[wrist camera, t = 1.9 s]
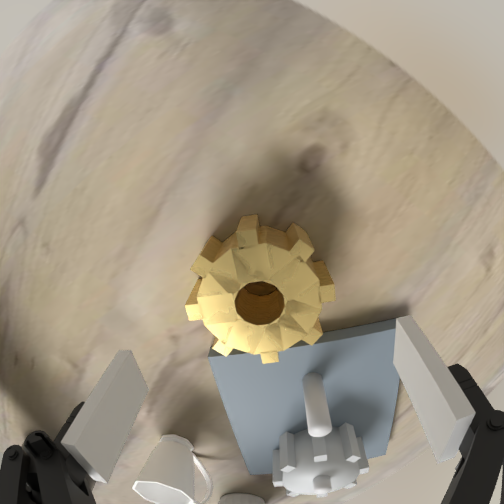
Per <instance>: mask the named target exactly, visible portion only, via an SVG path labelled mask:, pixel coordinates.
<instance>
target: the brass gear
mask: <svg viewBox="0 0 504 504" xmlns="http://www.w3.org/2000/svg"><path fill="white" fill-rule="evenodd" d="M313 252H314V248H313V245H312V243H311V241H310V239H309V237H308V235H307V233H306V231H305V230H303V229H302V228H300V227H299V226H298V225H296V224H295V223H294V222H293V223H292V224H291V226H290V227H289V228H288V230H287V231H286V232H283V231H280V230H277V229H274V228H272V227H269V226H260V225H259V219H258V214H255V215H249V216H243V217H241V219H240V222H239V225H238V228H237V230H236V232H235V233H233V234H232V235H231V236H230V237H229V238H227V239H226V240H225V241H224V242H221V241H219V240H218V239H216V238H215V237H213V236H211V237H210V239H209V240H208V242H207V243H206V245H205V246H204V248H203V249H202V251H201V252H200V254H199V256H198V257H197V259H196V261H195V262H194V264H193V266H192V267H191V270H192V271H194V272H195V273H197V274H198V275H200V276H201V277H203V278H202V279H198V280H197V282H196V284H195V286H194V288H193V290H192V292H191V294H190V296H189V298H188V300H187V302H186V304H185V307H186V311H187V314H188V317H189V321H191V320H201V319H203V322H204V325H205V326H206V327H207V328H208V329H209V330H210V331H211V332H212V333H213V334H214V335H215V340H214V343H213V347H212V349H214V350H216V351H217V352H219V353H221V354H223V355H224V356H227V355H228V354H229V353H230V352H231V351H232V350H233V348H235V349H238V350H241V351H244V352H247V353H250V354H254V355H255V354H261V359H262V363H263V364H266V363H274V362H279V351H284V350H286V349H288V348H289V347H291V346H292V345H294V344H295V343H297V342H298V341H300V340H303V341H305V342H306V343H308V344H310V345H311V346H312V345H313V344H314V343H315V342H316V341H317V340H318V339H319V338H320V337H321V336H322V335H323V332H322V329H321V325H320V321H319V318H318V316H319V314H320V312H321V310H322V303H324V302H330V301H336V300H335V286H334V282H333V280H332V278H331V276H330V274H329V272H328V270H327V268H326V266H325V264H324V262H323V260H321V261H315V262H312V260H311V257H310V256H311V254H312V253H313ZM258 281H264V282H267V283H270V284H272V285H275V286H276V287H277V288H278V289H276V290H275V291H274V292H272V293H271V294H270V295H263V296H257V295H254V294H251V293H249V292H248V291H247V290H246V289H245V288H244V286H245V285H246V284H248V283H251V282H258Z"/></svg>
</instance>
